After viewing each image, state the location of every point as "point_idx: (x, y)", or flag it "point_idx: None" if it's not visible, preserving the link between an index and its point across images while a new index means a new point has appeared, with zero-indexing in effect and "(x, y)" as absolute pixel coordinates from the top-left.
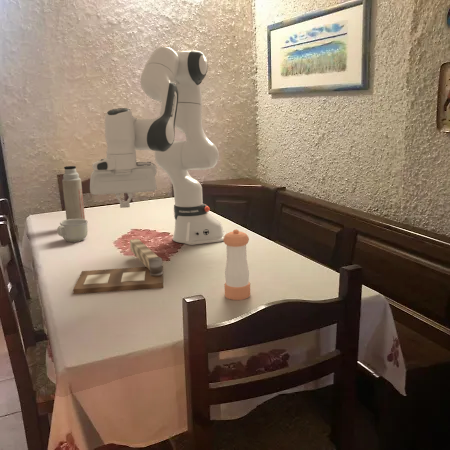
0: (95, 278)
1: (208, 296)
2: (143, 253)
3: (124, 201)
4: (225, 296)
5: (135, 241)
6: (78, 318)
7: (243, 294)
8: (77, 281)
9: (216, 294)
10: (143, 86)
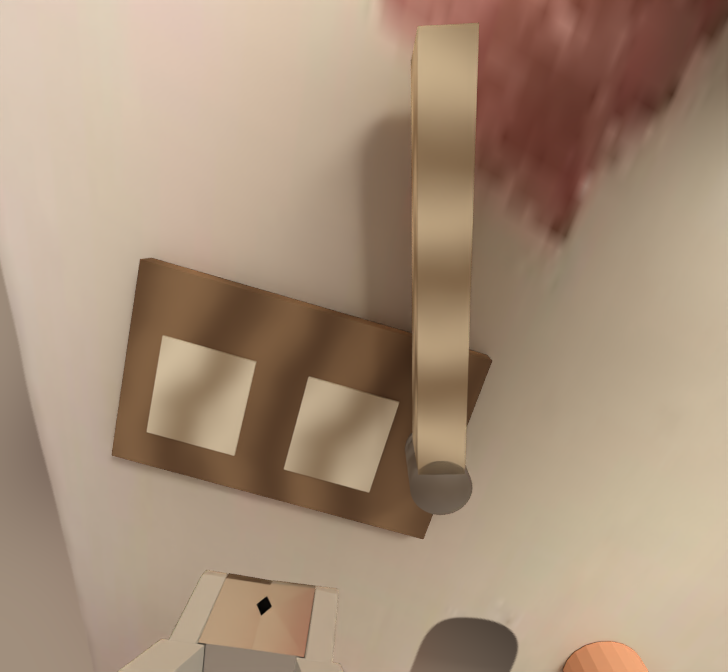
0: (193, 390)
1: (521, 644)
2: (417, 367)
3: (249, 668)
4: (564, 669)
5: (441, 95)
6: (143, 617)
7: None
8: (124, 383)
9: (550, 642)
10: None
